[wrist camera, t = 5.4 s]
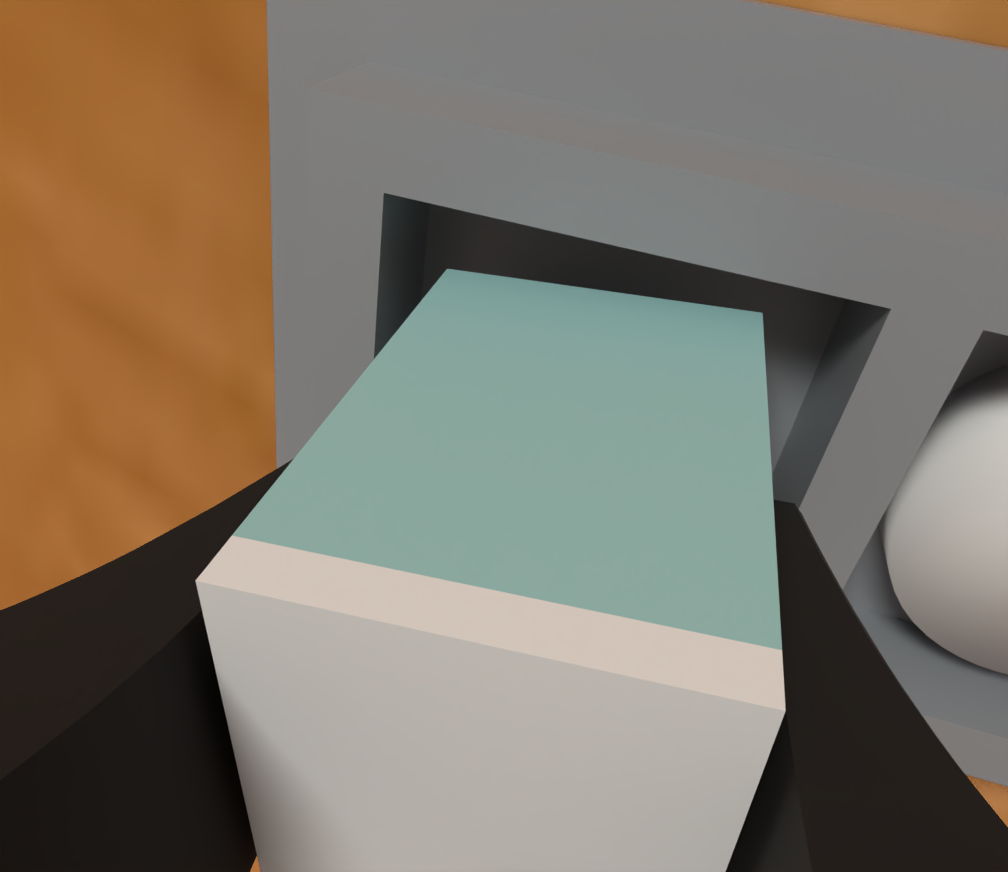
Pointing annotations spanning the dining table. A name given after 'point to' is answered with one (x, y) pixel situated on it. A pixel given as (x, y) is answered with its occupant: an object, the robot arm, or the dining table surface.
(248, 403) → the dining table surface
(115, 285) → the dining table surface
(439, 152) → the housing
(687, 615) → the teal and white block
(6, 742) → the robot arm
